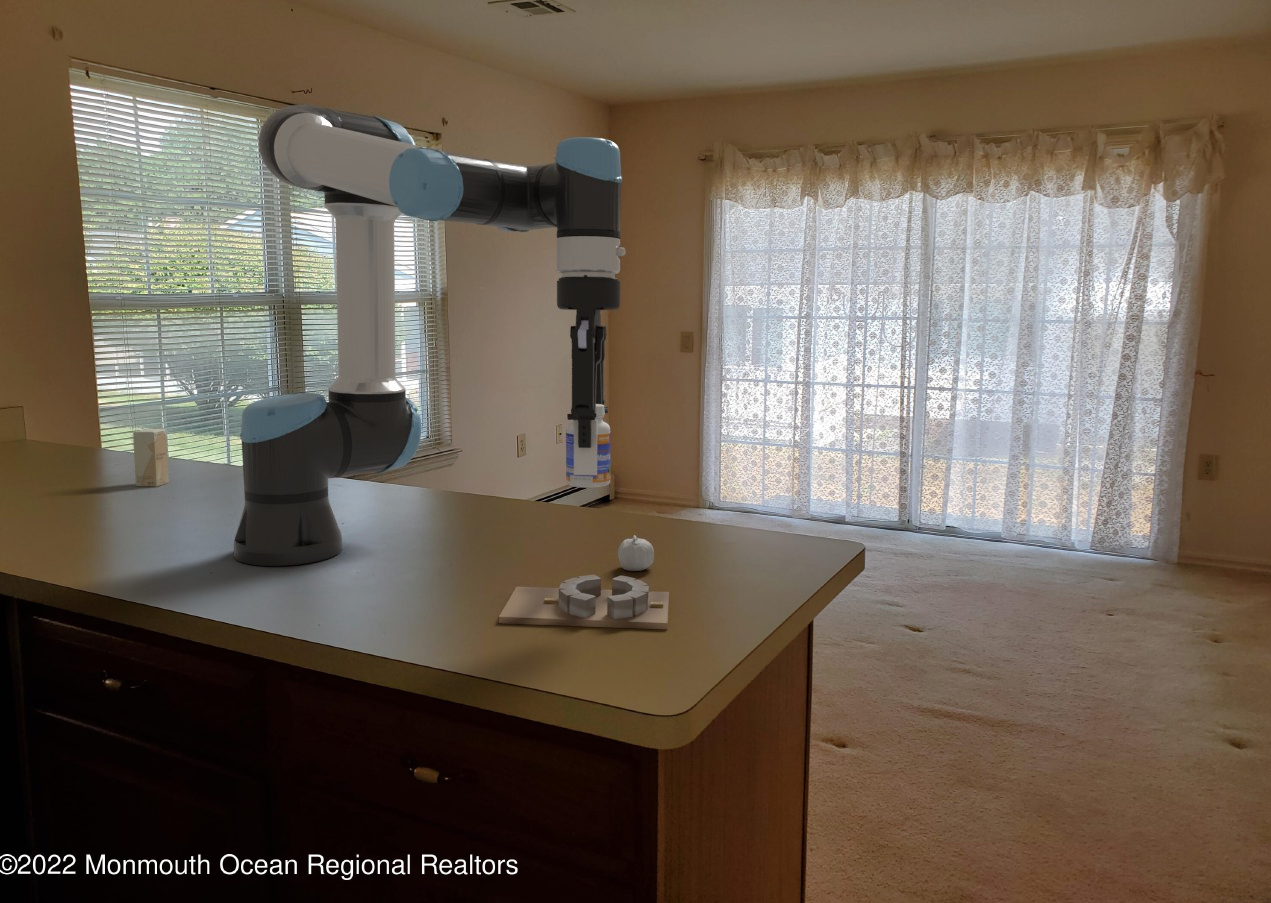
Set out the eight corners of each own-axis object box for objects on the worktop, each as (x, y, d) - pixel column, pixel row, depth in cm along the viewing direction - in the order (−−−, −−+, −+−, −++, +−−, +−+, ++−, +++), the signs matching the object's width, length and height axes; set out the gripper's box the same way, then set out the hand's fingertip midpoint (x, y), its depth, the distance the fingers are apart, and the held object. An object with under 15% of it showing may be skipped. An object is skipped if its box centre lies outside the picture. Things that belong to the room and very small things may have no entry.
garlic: (640, 577, 129) (641, 541, 129) (608, 570, 132) (609, 535, 131) (662, 567, 134) (663, 532, 134) (631, 561, 137) (631, 527, 136)
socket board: (498, 622, 109) (498, 598, 109) (516, 592, 121) (516, 570, 121) (667, 629, 108) (667, 604, 108) (668, 597, 120) (669, 575, 120)
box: (156, 487, 184) (153, 432, 182) (134, 486, 184) (131, 431, 182) (170, 482, 189) (166, 428, 187) (149, 481, 189) (145, 428, 187)
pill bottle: (604, 489, 109) (604, 407, 108) (560, 487, 110) (560, 406, 109) (615, 481, 114) (615, 403, 113) (573, 479, 116) (573, 402, 114)
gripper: (613, 272, 99) (612, 484, 103) (626, 279, 118) (625, 459, 121) (544, 272, 100) (545, 483, 103) (567, 279, 118) (568, 458, 121)
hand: (588, 469), depth 112 cm, fingers closed on pill bottle, 5 cm apart
